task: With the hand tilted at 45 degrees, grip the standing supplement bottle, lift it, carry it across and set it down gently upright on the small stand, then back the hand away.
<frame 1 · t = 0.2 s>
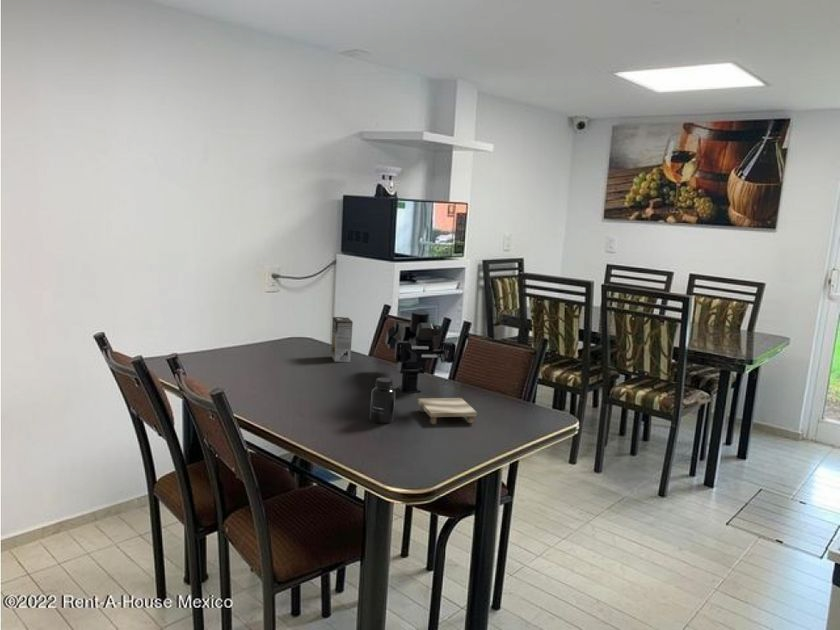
hand: (431, 359, 188), 17 cm above the table, tool horizontal, fingers open, 9 cm apart
coffee box: (340, 359, 252), on the table
small stand: (445, 416, 190), on the table
supplement bottle: (381, 420, 183), on the table
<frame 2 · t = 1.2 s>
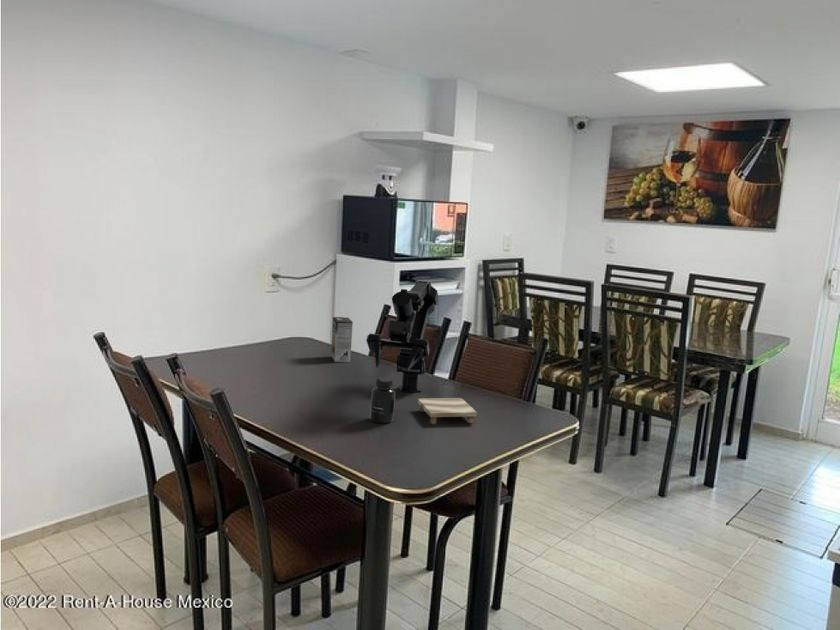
hand: (391, 368, 188), 13 cm above the table, tool tilted 45°, fingers open, 9 cm apart
nothing on the table moved.
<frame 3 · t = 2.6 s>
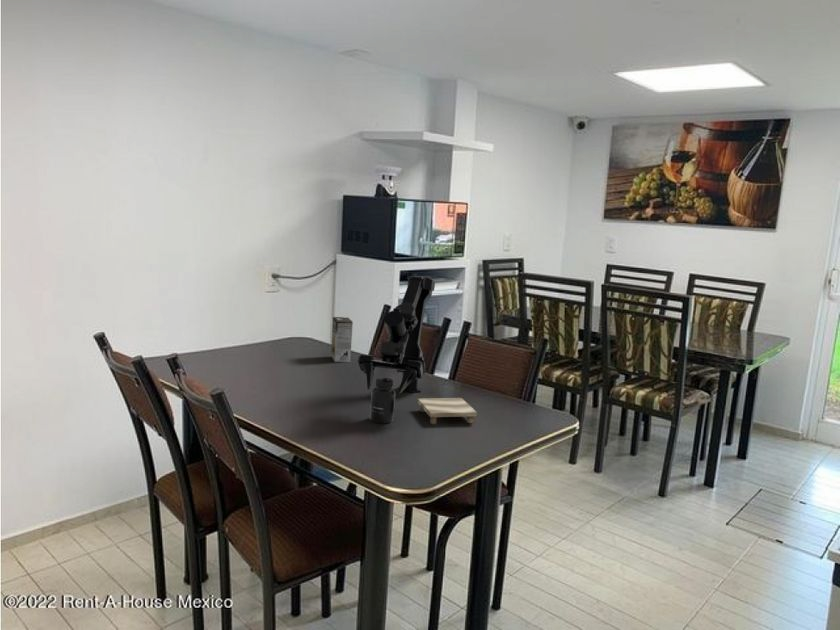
hand: (383, 391, 182), 9 cm above the table, tool tilted 45°, fingers open, 9 cm apart
nothing on the table moved.
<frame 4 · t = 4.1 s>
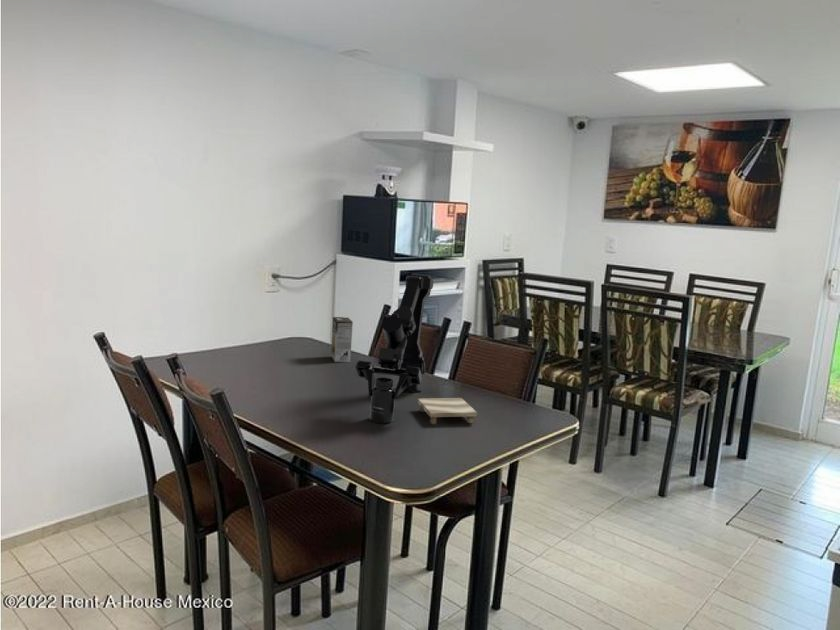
hand: (381, 397, 180), 7 cm above the table, tool tilted 45°, fingers closed on supplement bottle, 7 cm apart
supplement bottle: (381, 420, 183), on the table, touching gripper
everything else where it was.
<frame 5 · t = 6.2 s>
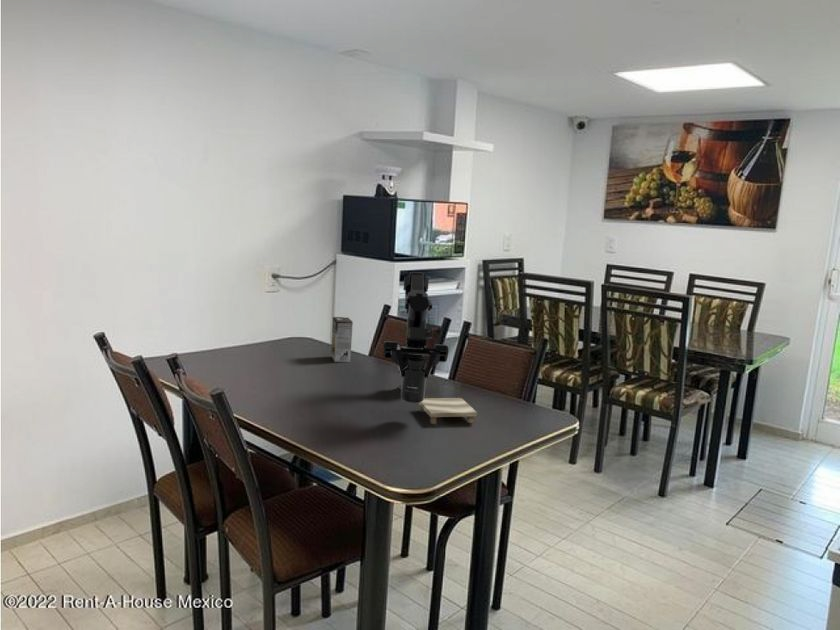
hand: (414, 376, 181), 13 cm above the table, tool tilted 45°, fingers closed on supplement bottle, 7 cm apart
supplement bottle: (412, 400, 184), point 6 cm above the table, touching gripper
everything else where it was.
when the fingers open (12 cm above the table, at t = 8.6 s): supplement bottle drops 1 cm, resting on small stand.
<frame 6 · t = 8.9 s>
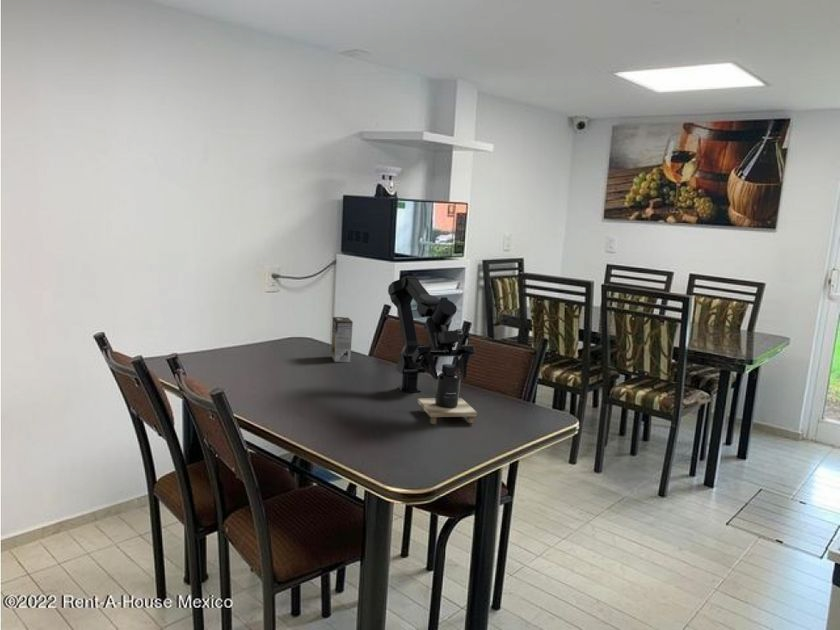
hand: (451, 378, 187), 12 cm above the table, tool tilted 45°, fingers open, 9 cm apart
supplement bottle: (446, 405, 190), point 3 cm above the table, touching small stand
everything else where it was.
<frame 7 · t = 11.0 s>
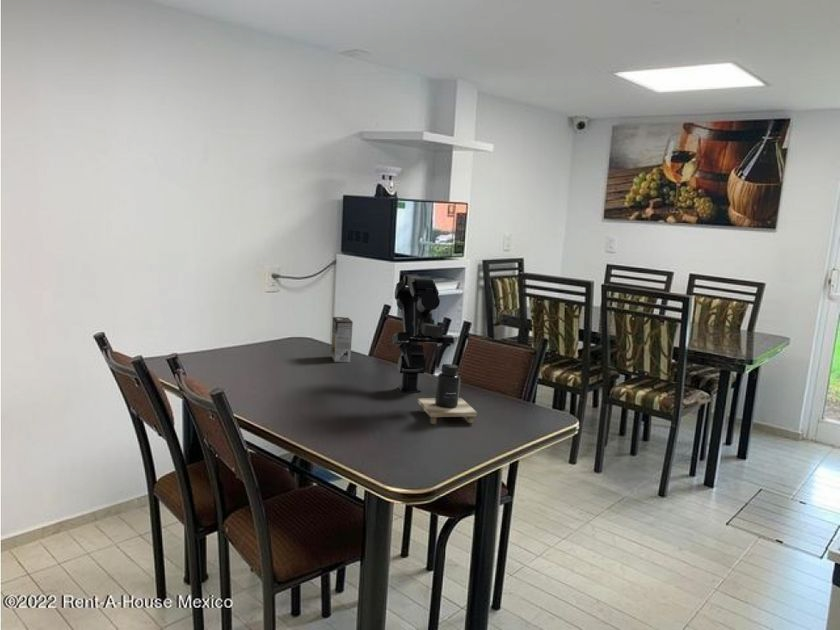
hand: (423, 367, 195), 13 cm above the table, tool tilted 25°, fingers open, 9 cm apart
nothing on the table moved.
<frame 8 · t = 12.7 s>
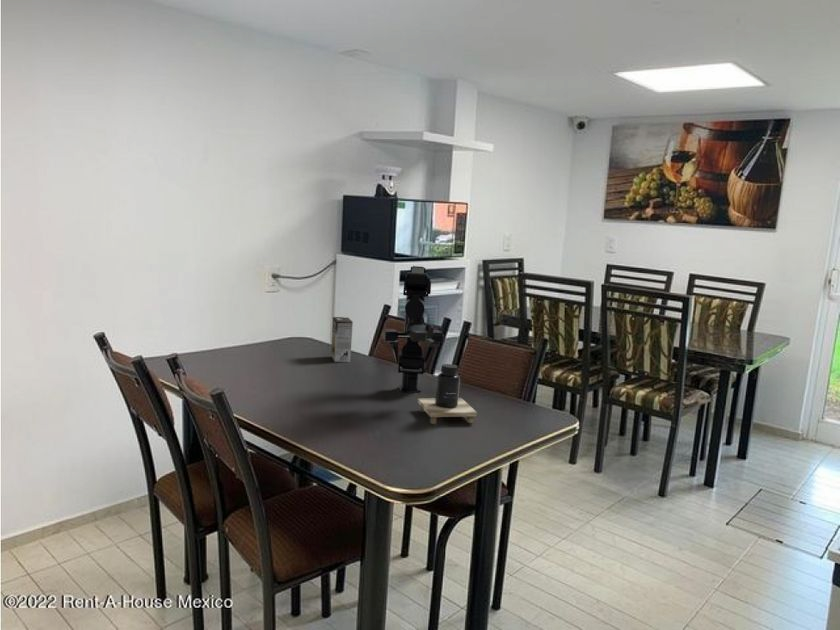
hand: (411, 362, 199), 13 cm above the table, tool pointing down, fingers open, 9 cm apart
nothing on the table moved.
at the end: supplement bottle inside the target area on the small stand (0.1 cm from its centre), point 3.3 cm above the small stand's base; supplement bottle tilted 0°; the gripper is holding nothing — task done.
